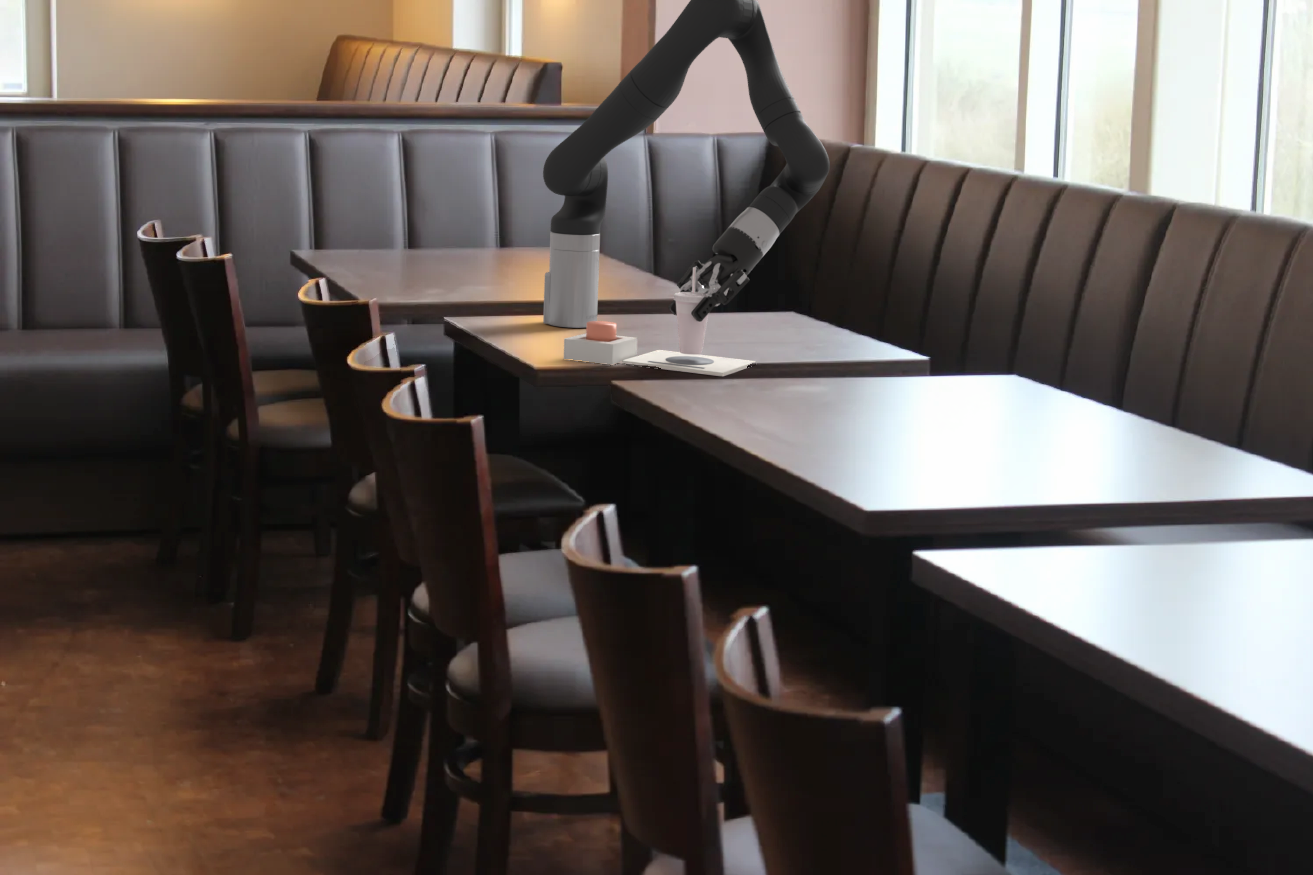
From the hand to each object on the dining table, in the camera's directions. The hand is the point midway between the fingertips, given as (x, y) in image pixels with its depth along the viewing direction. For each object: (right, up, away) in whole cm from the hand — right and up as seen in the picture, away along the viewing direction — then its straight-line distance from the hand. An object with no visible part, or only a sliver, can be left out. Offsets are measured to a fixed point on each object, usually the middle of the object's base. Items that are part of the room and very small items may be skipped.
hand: (683, 314), depth 279 cm
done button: (-14, -5, +3) cm, 15 cm away
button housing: (-14, -7, +4) cm, 16 cm away
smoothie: (+1, -6, +2) cm, 7 cm away
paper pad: (+1, -8, +3) cm, 8 cm away
